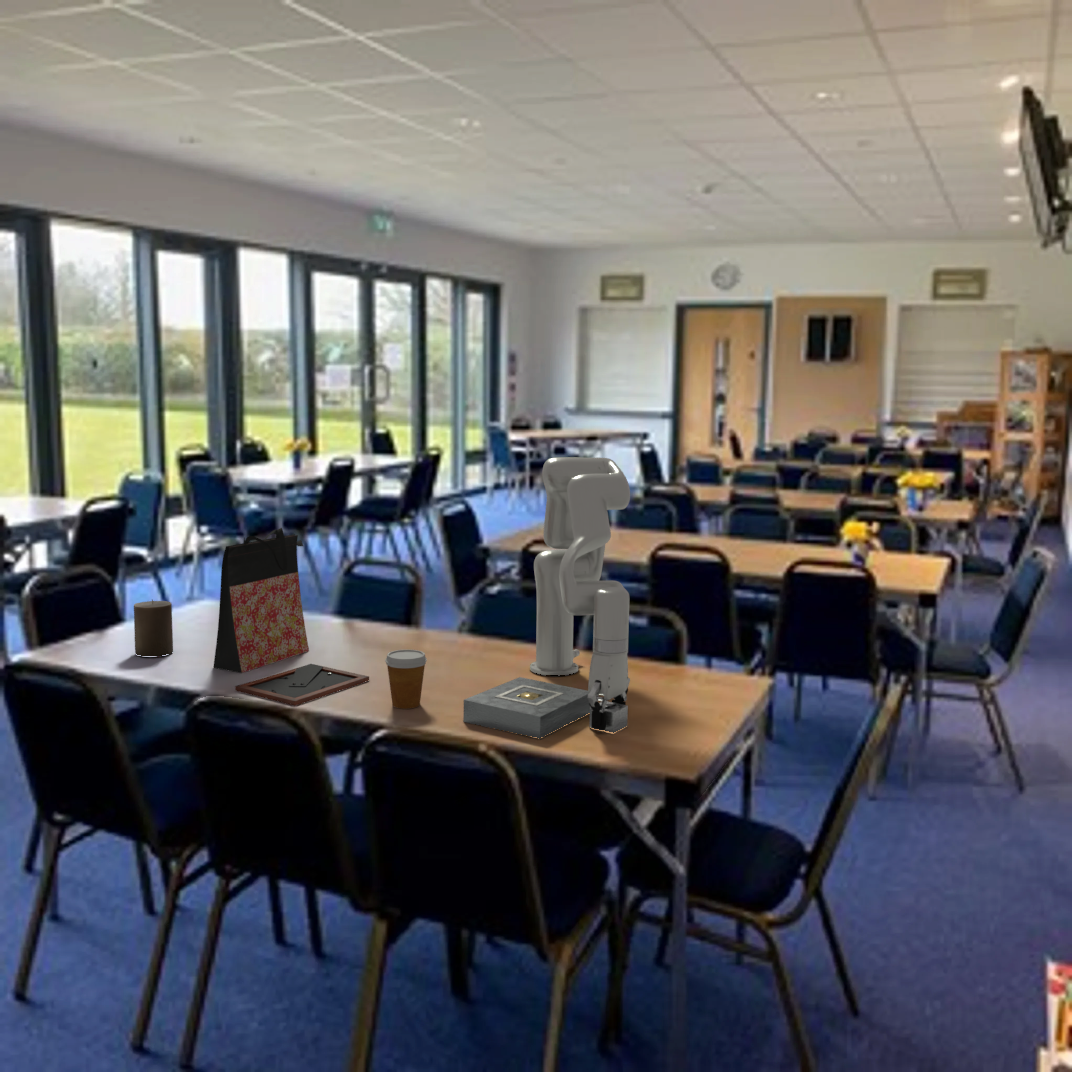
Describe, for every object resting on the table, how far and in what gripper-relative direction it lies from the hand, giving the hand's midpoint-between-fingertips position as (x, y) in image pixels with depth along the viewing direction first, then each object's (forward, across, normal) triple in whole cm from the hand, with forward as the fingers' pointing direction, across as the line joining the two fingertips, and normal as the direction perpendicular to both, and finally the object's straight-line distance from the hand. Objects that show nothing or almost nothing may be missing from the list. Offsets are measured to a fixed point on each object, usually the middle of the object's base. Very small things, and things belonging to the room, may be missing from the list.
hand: (608, 723), depth 226 cm
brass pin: (+1, +4, -18) cm, 18 cm away
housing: (+1, 0, 0) cm, 1 cm away
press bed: (+1, +4, -18) cm, 18 cm away
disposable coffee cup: (+1, +13, -46) cm, 48 cm away
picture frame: (+2, +16, -76) cm, 78 cm away
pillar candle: (+1, +18, -130) cm, 131 cm away
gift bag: (+1, +3, -102) cm, 102 cm away
